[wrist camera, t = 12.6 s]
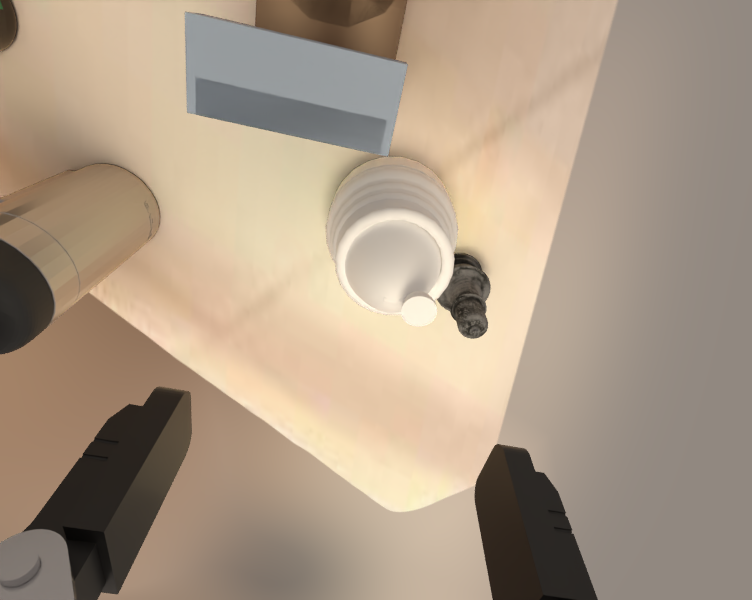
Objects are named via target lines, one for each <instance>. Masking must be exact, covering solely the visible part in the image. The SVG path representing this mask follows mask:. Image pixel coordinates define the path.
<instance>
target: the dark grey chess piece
mask: <svg viewBox="0 0 752 600" xmlns="http://www.w3.org/2000/svg"><path fill="white" fill-rule="evenodd" d="M454 258H455V260H454V268H453V275H452V277H451V279H450V282H449V284H448V286H447V288H446V289H445V290H444V292H443V293H442V294H441V296H440V297H439V298H438V299H437V300H438V302H439V303H440V305H441V306H442V307H444V308H445V309H447V310H449V311H450V312H451V315H452V317H453V318H454V320H456V321H457V325H458V329H459V331H460V333H461V334H462V335H463V336H465V337H467V338H479V337H481V336H482V335H483V334H485V332H486V331H487V328H488V321H487V318H486V315H485V313H486V303H485V301H486V300H487V298H488V296H489V293H490V281H489V278H488V277H487V275H486V274H485V273H484V272H483V271H482V269H481V266H480V264H479V262H478V261H477V260H476V259H475V258H474V257H472V256H470V255H467V254H454Z"/></svg>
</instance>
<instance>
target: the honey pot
mask: <svg viewBox="0 0 752 600" xmlns="http://www.w3.org/2000/svg"><path fill="white" fill-rule="evenodd" d="M457 235H458V225H457V219H456V213H455V210H454V208H453V205H452V202H451V199H450V196H449V194H448V192H447V190H446V188H445V186H444V184H443V182H442V181H441V180H440V179H439V178H438V177H437V176H436V174H435V173H434V172H433V171H432V170H430V169H429V168H427V167H426V166H424V165H423V164H421V163H419V162H418V161H414V160H411V159H407V158H404V157H381V158H377V159H373V160H369V161H367V162H365V163H364V164H362V165H360V166H358V167H357V168H355V169H354V170H353V171H352V172H351V173H350V174H349V175H348V176H347V177H346V178H345V179H344V180H343V181H342V183H341V184H340V186H339V188H338V190H337V192H336V194H335V196H334V199H333V202H332V204H331V208H330V210H329V214H328V219H327V223H326V239H327V246H328V249H329V252H330V255H331V257H332V260H333V261H334V263H335V267H336V273H337V276H338V279H339V282H340V285H341V286H342V288H343V289H344V290H345V292H346V293H347V295H348V296H349V297H350V298H351V299H352V300H354V301H355V302H356V303H357V304H358V305H360V306H362V307H364V308H366V309H368V310H370V311H372V312H376V313H380V314H384V315H402V318H403V320H404V321H405V322H406V323H408V324H410V325H412V326H418V327H419V326H425V325H428V324H429V323H431V322H432V321H433V320H434V319H435V317H436V315H437V307H436V304H435V302H434V301H435V300H437V299H438V298H439V297H440V296H441V294H442V293H443V292H444V290H445V289H446V288H447V286H448V284H449V282H450V279H451V277H452V275H453V268H454V260H455V258H454V251H455V248H456V244H457Z"/></svg>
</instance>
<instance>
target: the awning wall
mask: <svg viewBox="0 0 752 600" xmlns="http://www.w3.org/2000/svg"><path fill="white" fill-rule="evenodd" d="M185 41H186V86H187V113H191V114H196V115H200V116H205V117H209V118H214V119H218V120H223V121H227V122H232V123H237V124H241V125H246V126H250V127H255V128H259V129H264V130H269V131H273V132H278V133H282V134H287V135H291V136H296V137H300V138H305V139H310V140H314V141H319V142H323V143H328V144H332V145H337V146H341V147H346V148H351V149H355V150H360V151H364V152H369V153H373V154H378V155H383V156H387V157H388V154H389V149H390V145H391V140H392V136H393V131H394V126H395V122H396V117H397V112H398V108H399V103H400V98H401V94H402V89H403V84H404V80H405V75H406V71H407V66H408V64H407V63H406V62H402V61H398V60H394V59H389V58H385V57H381V56H377V55H373V54H368V53H364V52H360V51H356V50H352V49H348V48H343V47H339V46H335V45H331V44H327V43H322V42H318V41H314V40H310V39H306V38H301V37H297V36H293V35H289V34H285V33H280V32H276V31H272V30H268V29H264V28H259V27H255V26H251V25H247V24H243V23H238V22H234V21H230V20H226V19H222V18H218V17H213V16H209V15H205V14H199V13H191V12H185Z"/></svg>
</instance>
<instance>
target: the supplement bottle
mask: <svg viewBox="0 0 752 600" xmlns="http://www.w3.org/2000/svg"><path fill="white" fill-rule="evenodd" d="M16 29H17V24H16V16H15V12H14V9H13V6H12V3H11V1H10V0H0V51H3V50H5V49H6V48H8V47H9V46H10V45H11V43H12V42H13V40H14V38H15V35H16Z"/></svg>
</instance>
